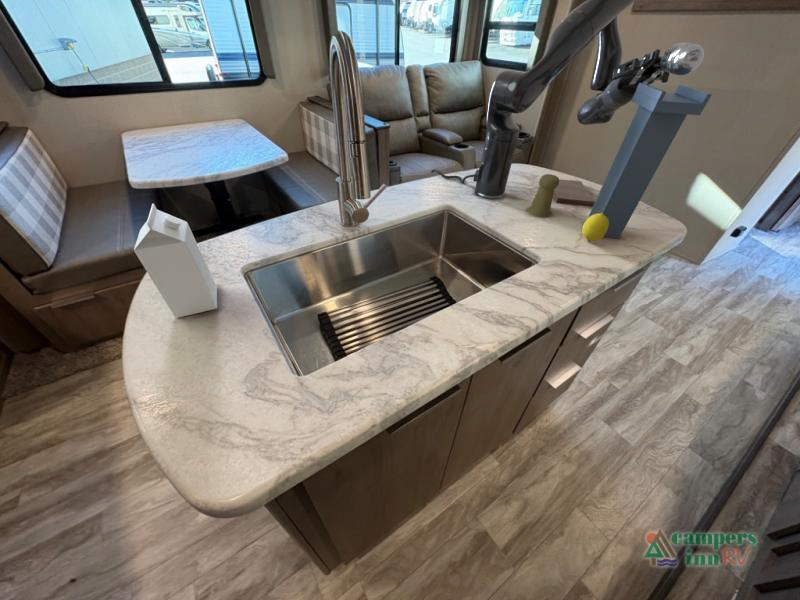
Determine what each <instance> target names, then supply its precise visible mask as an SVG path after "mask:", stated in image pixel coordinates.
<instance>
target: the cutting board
mask: <svg viewBox="0 0 800 600" xmlns="http://www.w3.org/2000/svg"><path fill="white" fill-rule="evenodd" d="M553 198H554V200H555V203H558V204H569V205H578V206H588V207H589V206H590V207H593V206H594V204H595V200H594V199H593V197H592V196H591V194H590V192H589V191H588V190H587V188H586V187H585V185H584V183H583V182H582V181H581V180H572V179H560V178H559V184H558V186H557V188H555V189H554V194H553Z"/></svg>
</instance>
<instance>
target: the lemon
mask: <svg viewBox="0 0 800 600" xmlns="http://www.w3.org/2000/svg"><path fill="white" fill-rule="evenodd" d="M588 217H589V216H588ZM588 217H587V219H586V220H585V221H584V223H583V225H582V228H581V234H582V236H583V238H584V239H586V241H587V242H595V241H599V240H601V239H602V238H604V237H603V236H604V235H605V233H606V232H607V229H608V226H609V220H608V218H607V217H606V216H605V215H604V214H603V213H600V214H594V215H592V216H590V217H589V218H588Z"/></svg>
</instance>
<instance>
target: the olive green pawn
mask: <svg viewBox="0 0 800 600" xmlns="http://www.w3.org/2000/svg"><path fill="white" fill-rule="evenodd" d="M559 179H560V178H559V177H558V176H557V175H555V174H551V173H545V174H542V175H541V176H540V178H539V181H538V185H539V187H538V190H537V191H536V194H535V196H534V197H533V200H532V202H531V204H530V206H529V208H528V213H529V214H530V215H532V216H534V217H537V218H546V217H548V216H550V213H551V208H552V203H553V200H554V199H553V198H554V196H553V194H554V189H555V188H557V186H558V184H559Z"/></svg>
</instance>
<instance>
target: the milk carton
mask: <svg viewBox="0 0 800 600" xmlns="http://www.w3.org/2000/svg"><path fill="white" fill-rule="evenodd" d="M148 213H149V214H148V217H147V220H146V221H145V223H144V224H143V225H142V227H141V228H140V230H139V232H138V235H137V239H136V242H135V245H134V248H133V252H134V253H135V255H136V256H137V258H138V260H139V262H140V263H141V265H142V266H143V268H144V269H145V271H146V273H147V275H148V276H149V277H150V280H151V282H152V283H153V284H154V286H155V287H156V289H157V291H158V292H159V294H160V295H161V297H162V299H163V300H164V302H165V303H166V305H167V307H168V308H169V310H170V312H171V313H172V315H173V316H174V318H175V319H178V318H183V317H187V316H191V315H195V314H199V313H200V314H201V313H205V312H207V311H212V310H217V309H218V287H217V284H216V282H215V280H214V278H213V276H212V274H211V271H210V269H209V267H208V265H207V263H206V260H205V259H204V256H203V253H202V252H201V249H200V247H199V245H198V243H197V240H196V238H195V236H194V234H193V232H192V230H191V229H192V228H191V227H190V225H189V223H188V221H186V220H183V219H181V218H178V217H176V216H174V215H171V214H169V213H166V212H164V211H162V210H159V209H157V207H156V205H155V203H151V207H150V210H149V212H148Z"/></svg>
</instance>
